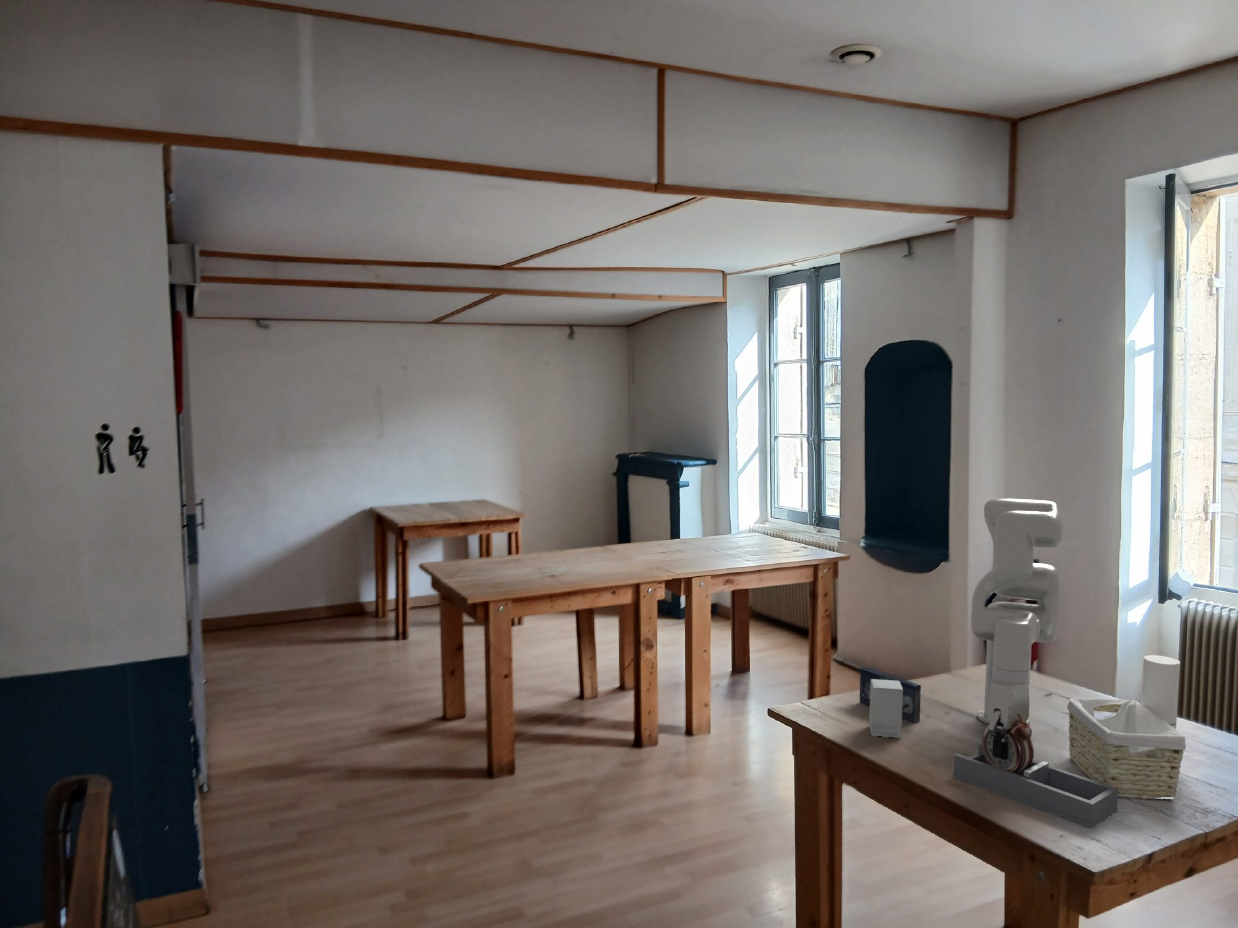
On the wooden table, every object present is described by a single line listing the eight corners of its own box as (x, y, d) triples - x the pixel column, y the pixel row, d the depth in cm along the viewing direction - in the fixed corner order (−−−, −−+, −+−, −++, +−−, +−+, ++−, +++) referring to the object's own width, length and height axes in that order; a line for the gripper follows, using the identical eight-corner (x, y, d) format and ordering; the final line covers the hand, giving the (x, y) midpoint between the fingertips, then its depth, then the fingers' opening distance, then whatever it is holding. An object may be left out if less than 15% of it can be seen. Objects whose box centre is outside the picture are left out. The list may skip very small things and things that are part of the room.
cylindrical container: (1169, 760, 208) (1175, 656, 206) (1177, 772, 201) (1183, 665, 199) (1134, 756, 210) (1140, 653, 208) (1141, 768, 204) (1147, 662, 202)
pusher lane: (981, 763, 206) (982, 742, 206) (1117, 811, 182) (1118, 788, 182) (952, 776, 199) (953, 754, 198) (1090, 828, 175) (1092, 804, 175)
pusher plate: (1042, 783, 193) (1043, 761, 192) (1047, 785, 192) (1048, 762, 191) (1023, 793, 188) (1024, 770, 187) (1028, 795, 187) (1029, 772, 186)
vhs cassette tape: (858, 703, 246) (859, 668, 245) (866, 701, 247) (867, 666, 246) (913, 724, 230) (914, 687, 229) (920, 722, 232) (921, 684, 231)
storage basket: (1062, 754, 211) (1065, 694, 210) (1134, 758, 209) (1137, 698, 208) (1103, 800, 188) (1107, 732, 187) (1185, 805, 186) (1189, 737, 185)
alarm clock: (979, 765, 199) (981, 700, 198) (994, 761, 201) (997, 697, 200) (1019, 785, 189) (1022, 717, 188) (1035, 781, 191) (1038, 713, 190)
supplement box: (901, 739, 220) (903, 689, 219) (870, 736, 221) (872, 687, 220) (898, 728, 227) (900, 680, 226) (868, 725, 229) (870, 677, 228)
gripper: (1015, 662, 201) (1011, 739, 203) (973, 677, 191) (970, 758, 192) (1047, 671, 195) (1043, 750, 197) (1006, 686, 185) (1003, 770, 186)
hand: (1007, 753), depth 195 cm, fingers closed on alarm clock, 5 cm apart
